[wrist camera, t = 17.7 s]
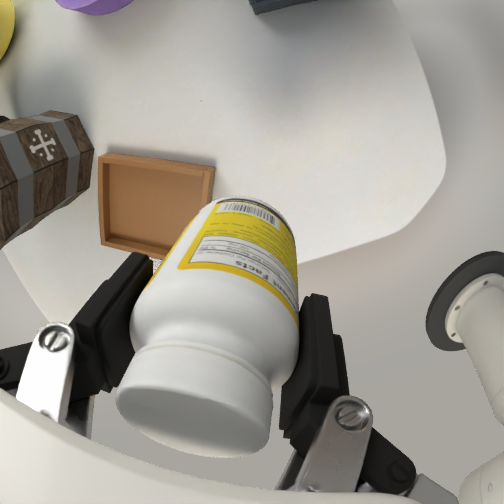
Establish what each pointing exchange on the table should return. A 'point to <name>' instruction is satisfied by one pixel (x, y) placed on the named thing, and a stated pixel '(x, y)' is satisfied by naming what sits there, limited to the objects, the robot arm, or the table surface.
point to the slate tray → (273, 4)
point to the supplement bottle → (215, 332)
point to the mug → (40, 168)
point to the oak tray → (149, 201)
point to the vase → (6, 24)
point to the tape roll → (94, 5)
